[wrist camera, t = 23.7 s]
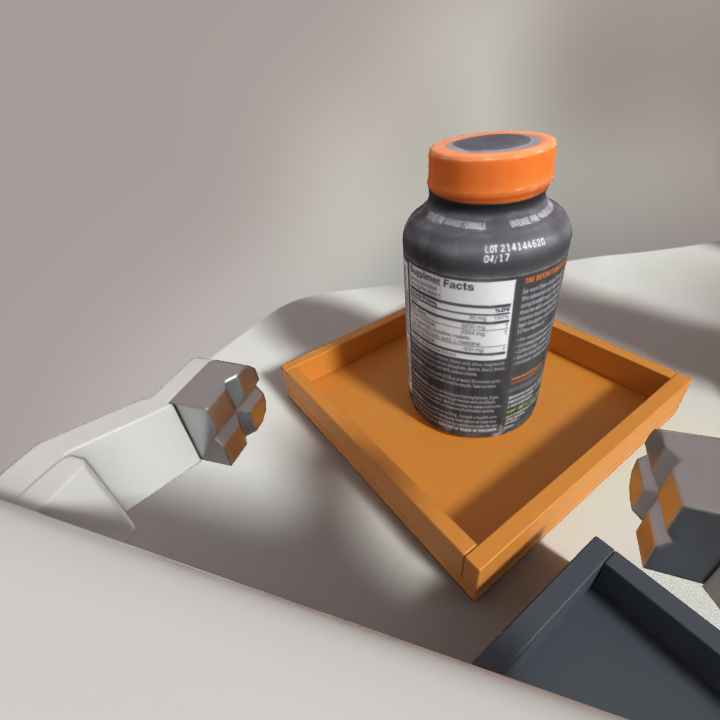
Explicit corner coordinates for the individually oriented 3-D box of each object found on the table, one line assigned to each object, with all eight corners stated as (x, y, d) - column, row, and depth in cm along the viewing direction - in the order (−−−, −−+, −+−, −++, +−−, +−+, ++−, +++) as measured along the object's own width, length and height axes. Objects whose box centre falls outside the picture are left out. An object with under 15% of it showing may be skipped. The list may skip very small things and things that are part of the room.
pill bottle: (488, 348, 23) (514, 115, 16) (564, 417, 18) (645, 134, 12) (389, 378, 22) (374, 140, 15) (445, 461, 17) (458, 171, 10)
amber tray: (288, 395, 22) (280, 365, 21) (460, 308, 28) (462, 280, 27) (474, 602, 13) (479, 571, 12) (675, 413, 19) (693, 378, 18)
